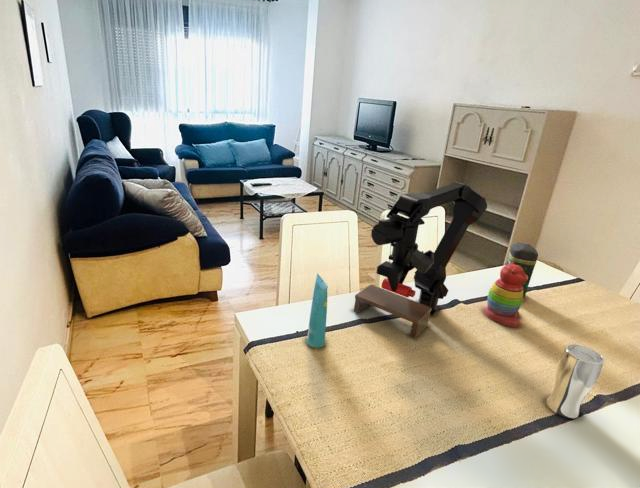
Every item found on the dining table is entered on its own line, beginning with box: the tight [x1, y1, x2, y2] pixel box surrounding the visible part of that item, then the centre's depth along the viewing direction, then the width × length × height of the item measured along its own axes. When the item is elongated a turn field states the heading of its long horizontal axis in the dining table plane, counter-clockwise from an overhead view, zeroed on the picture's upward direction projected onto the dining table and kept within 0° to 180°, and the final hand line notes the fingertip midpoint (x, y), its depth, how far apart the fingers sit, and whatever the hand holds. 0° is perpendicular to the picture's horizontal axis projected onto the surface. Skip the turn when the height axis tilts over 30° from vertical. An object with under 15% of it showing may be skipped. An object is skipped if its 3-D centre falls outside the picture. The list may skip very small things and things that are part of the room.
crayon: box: [381, 277, 417, 299], centre depth 113 cm, size 9×3×3 cm, turn 50°
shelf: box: [353, 283, 432, 339], centre depth 116 cm, size 10×20×6 cm, turn 49°
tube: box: [306, 272, 329, 349], centre depth 101 cm, size 7×5×19 cm, turn 20°
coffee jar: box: [505, 242, 539, 300], centre depth 133 cm, size 10×8×19 cm
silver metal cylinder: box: [546, 343, 605, 419], centre depth 84 cm, size 7×7×15 cm
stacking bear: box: [483, 262, 528, 328], centre depth 119 cm, size 11×10×18 cm
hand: (396, 288), depth 113 cm, fingers closed on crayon, 3 cm apart
